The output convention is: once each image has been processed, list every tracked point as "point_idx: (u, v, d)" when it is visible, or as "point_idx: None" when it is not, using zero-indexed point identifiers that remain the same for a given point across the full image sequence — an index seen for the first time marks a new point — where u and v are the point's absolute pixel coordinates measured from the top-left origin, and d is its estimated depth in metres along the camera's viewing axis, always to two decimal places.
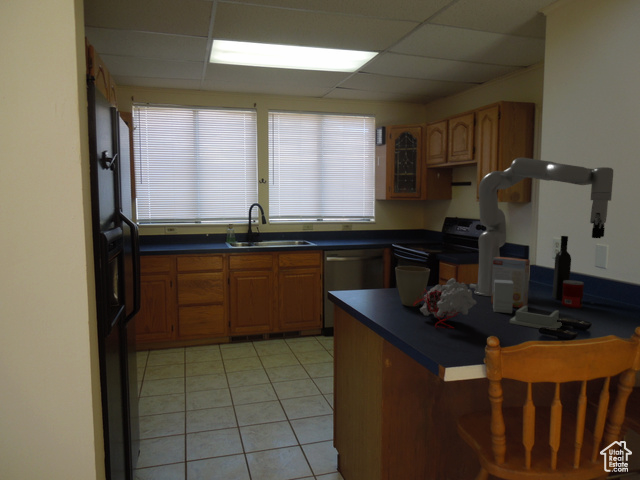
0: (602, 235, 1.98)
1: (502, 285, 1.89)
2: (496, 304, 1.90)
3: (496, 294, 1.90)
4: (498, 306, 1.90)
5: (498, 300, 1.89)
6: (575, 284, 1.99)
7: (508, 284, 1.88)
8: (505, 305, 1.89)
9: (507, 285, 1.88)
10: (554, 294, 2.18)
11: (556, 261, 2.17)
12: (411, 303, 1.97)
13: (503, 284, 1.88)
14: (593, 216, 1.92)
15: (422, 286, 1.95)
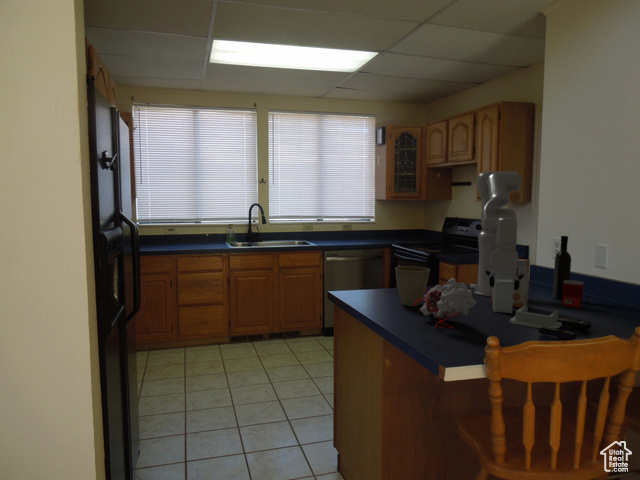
0: (493, 285, 1.95)
1: (502, 285, 1.89)
2: (496, 304, 1.90)
3: (496, 294, 1.90)
4: (498, 306, 1.90)
5: (498, 299, 1.89)
6: (575, 284, 1.99)
7: (508, 284, 1.88)
8: (505, 304, 1.89)
9: (507, 285, 1.88)
10: (554, 294, 2.18)
11: (556, 261, 2.17)
12: (411, 303, 1.97)
13: (503, 284, 1.88)
14: (516, 268, 1.86)
15: (422, 286, 1.95)
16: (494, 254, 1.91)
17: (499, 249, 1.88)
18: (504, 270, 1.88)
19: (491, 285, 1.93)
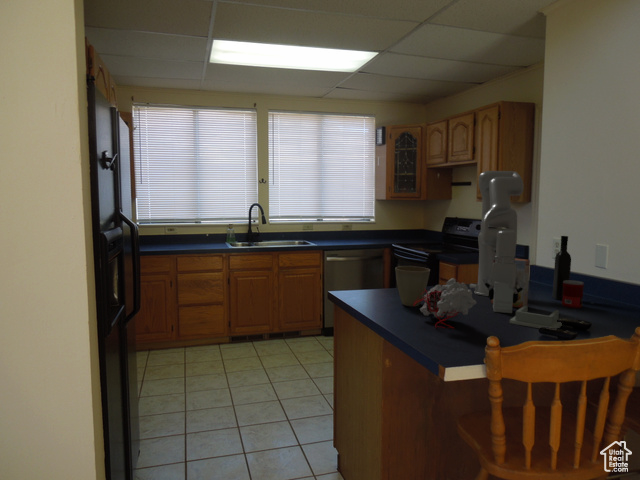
0: (493, 297, 1.96)
1: (502, 285, 1.89)
2: (496, 304, 1.90)
3: (496, 294, 1.90)
4: (498, 306, 1.90)
5: (498, 299, 1.89)
6: (575, 284, 1.99)
7: (508, 284, 1.88)
8: (505, 304, 1.89)
9: (507, 285, 1.88)
10: (554, 294, 2.18)
11: (556, 261, 2.17)
12: (411, 303, 1.97)
13: (503, 284, 1.88)
14: (515, 281, 1.87)
15: (422, 286, 1.95)
16: (493, 267, 1.91)
17: (498, 262, 1.89)
18: None
19: (490, 297, 1.94)
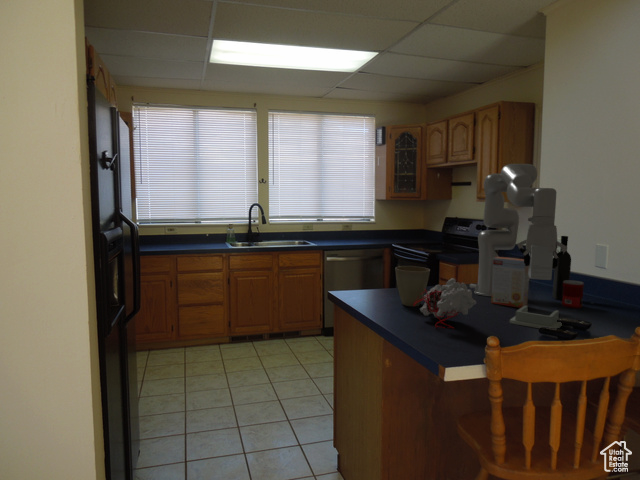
0: (528, 263, 1.76)
1: (540, 249, 1.69)
2: (533, 270, 1.70)
3: (533, 259, 1.70)
4: (535, 272, 1.70)
5: (536, 265, 1.69)
6: (575, 284, 1.99)
7: (547, 247, 1.68)
8: (544, 270, 1.69)
9: (546, 248, 1.68)
10: (554, 294, 2.18)
11: None
12: (411, 303, 1.97)
13: (542, 248, 1.68)
14: (555, 244, 1.67)
15: (422, 286, 1.95)
16: (530, 229, 1.71)
17: (536, 223, 1.69)
18: None
19: (526, 264, 1.74)
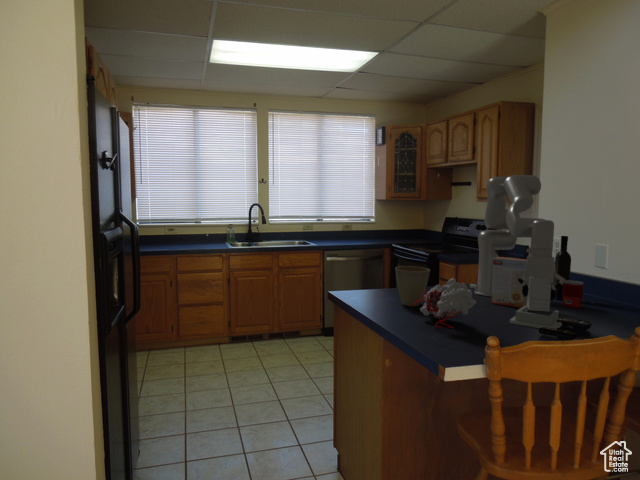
0: None
1: (538, 280, 1.70)
2: (531, 301, 1.71)
3: (531, 291, 1.71)
4: (533, 304, 1.71)
5: (534, 296, 1.70)
6: (575, 284, 1.99)
7: (545, 279, 1.69)
8: (542, 302, 1.70)
9: (544, 280, 1.69)
10: None
11: (556, 261, 2.17)
12: (411, 303, 1.97)
13: (540, 279, 1.69)
14: (553, 276, 1.68)
15: (422, 286, 1.95)
16: (528, 260, 1.73)
17: (534, 255, 1.70)
18: None
19: (524, 294, 1.75)
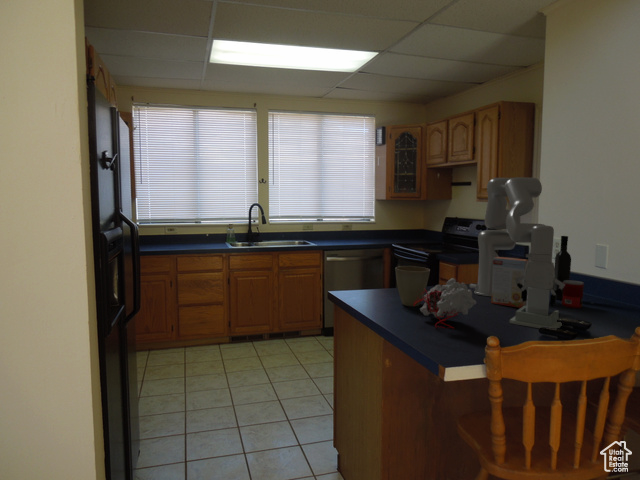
0: (526, 299, 1.77)
1: (536, 291, 1.70)
2: (529, 312, 1.72)
3: (529, 301, 1.71)
4: None
5: (532, 307, 1.71)
6: (575, 284, 1.99)
7: (543, 290, 1.70)
8: (540, 313, 1.70)
9: (542, 291, 1.70)
10: None
11: (556, 261, 2.17)
12: (411, 303, 1.97)
13: (538, 290, 1.70)
14: (553, 282, 1.69)
15: (422, 286, 1.95)
16: (528, 266, 1.73)
17: (534, 260, 1.70)
18: (539, 284, 1.70)
19: (524, 299, 1.75)
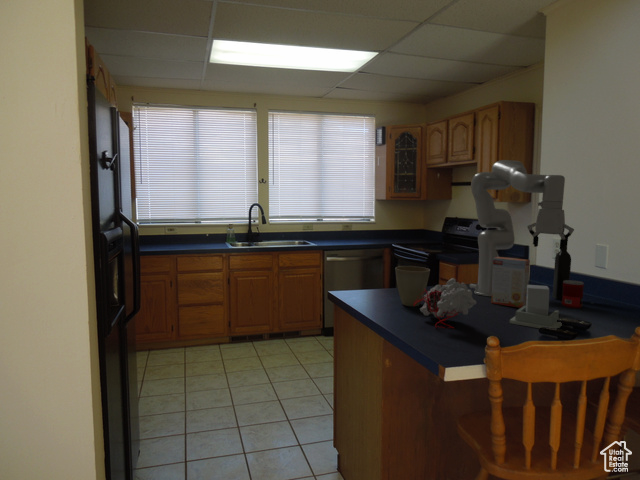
0: (537, 244, 1.91)
1: (536, 291, 1.70)
2: (529, 312, 1.72)
3: (529, 301, 1.71)
4: None
5: (532, 307, 1.71)
6: (575, 284, 1.99)
7: (543, 290, 1.70)
8: (540, 313, 1.70)
9: (542, 291, 1.70)
10: (554, 294, 2.18)
11: (556, 261, 2.17)
12: (411, 303, 1.97)
13: (538, 290, 1.70)
14: (563, 227, 1.82)
15: (422, 286, 1.95)
16: (539, 213, 1.86)
17: (545, 207, 1.84)
18: (550, 229, 1.84)
19: (535, 244, 1.89)
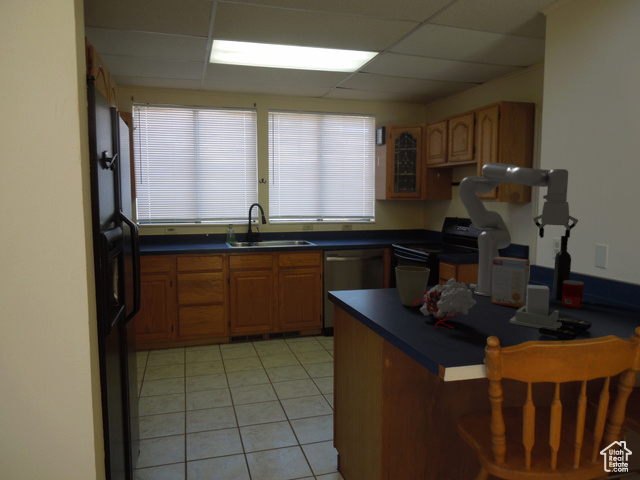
0: (543, 236, 2.01)
1: (536, 291, 1.70)
2: (529, 312, 1.72)
3: (529, 301, 1.71)
4: None
5: (532, 307, 1.71)
6: (575, 284, 1.99)
7: (543, 290, 1.70)
8: (540, 313, 1.70)
9: (542, 291, 1.70)
10: (554, 294, 2.18)
11: (556, 261, 2.17)
12: (411, 303, 1.97)
13: (538, 290, 1.70)
14: (567, 218, 1.92)
15: (422, 286, 1.95)
16: (545, 205, 1.96)
17: (550, 200, 1.94)
18: (555, 220, 1.94)
19: (541, 236, 1.99)
